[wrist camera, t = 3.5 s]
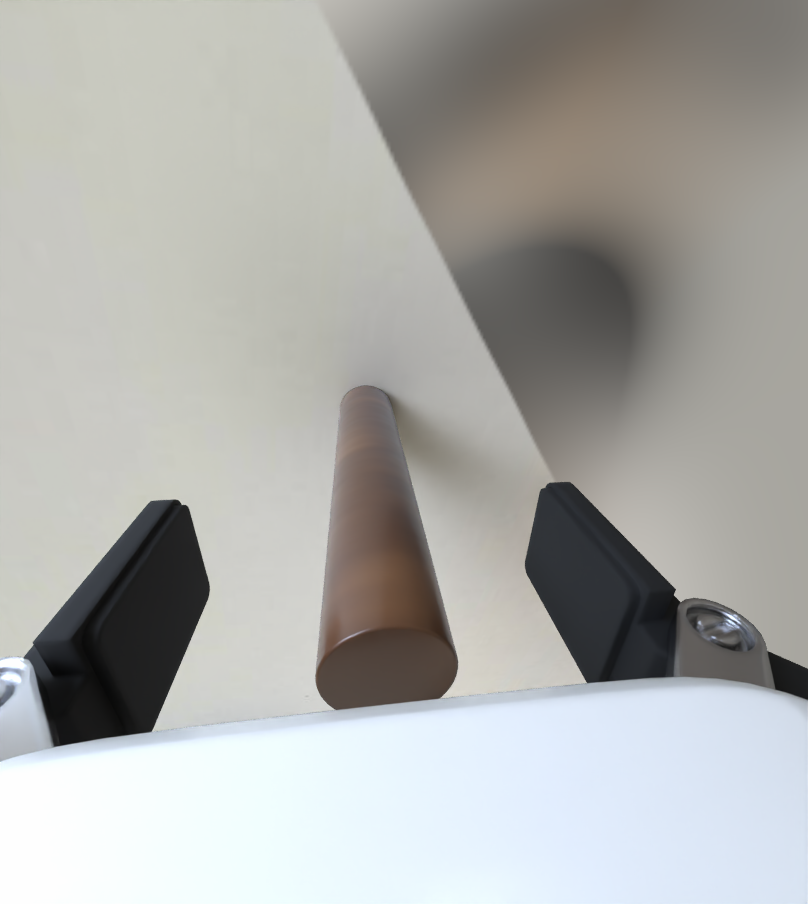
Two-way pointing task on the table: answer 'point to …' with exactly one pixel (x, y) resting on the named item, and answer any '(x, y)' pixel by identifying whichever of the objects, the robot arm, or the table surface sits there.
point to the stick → (378, 573)
